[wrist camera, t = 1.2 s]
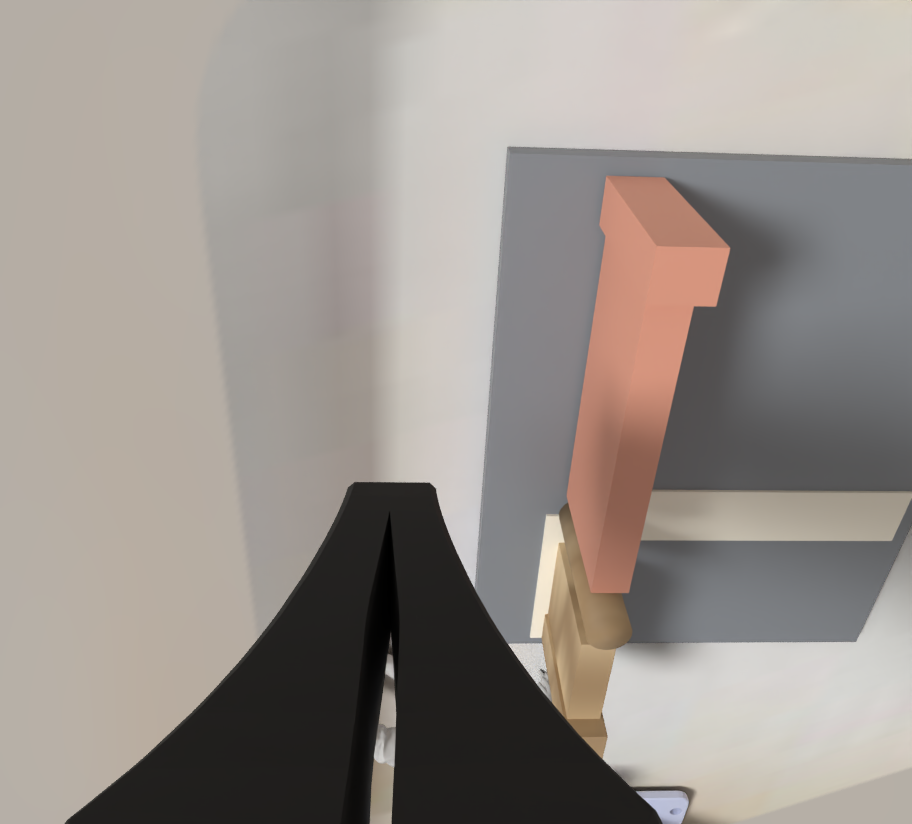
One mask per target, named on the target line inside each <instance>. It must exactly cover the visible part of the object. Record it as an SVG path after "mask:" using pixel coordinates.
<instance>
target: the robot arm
mask: <svg viewBox="0 0 912 824" xmlns="http://www.w3.org/2000/svg"><path fill="white" fill-rule="evenodd" d="M390 633H391V638H392V653H393V668H394V683H395V699H396V737H395V761H394V783H393V805H392V824H682V821H683V819H684V816H685V813H686V810H687V808H688V805H689V800H688V797H687V794H686V793H685V792H682V791H634V790H633V789H632V788H631V787H630V786H629V785H628V784H627V783H626V782H625V781H624V780H623V779H622V778H621V777H620V776H619V775H618V774H617V773H616V772H615V771H614V770H613V769H612V768H611V767H610V766H609V765H608V764H607V763H606V762H605V761H604V760H603V759H602V758H601V757H600V756H599V755H598V754H597V753H596V752H595V751H594V750H593V749H592V748H591V747H590V746H589V744H588V743H587V742H586V741H585V740H584V739H583V738H582V737H581V736H580V735H579V734H578V733H577V732H576V731H575V729H574V728H573V727H572V726H571V725H570V723H569V722H568V721H567V720H566V719H565V717H564V716H563V715H562V714H561V713H560V712H559V710H558V709H557V708H556V707H555V706H554V704H553V703H552V702H551V701H550V700H549V699H548V697H547V696H546V695H545V694H544V693H543V691H542V690H541V689H540V688H539V687H538V685H537V684H536V683H535V681H534V680H533V679H532V677H531V676H530V675H529V673H528V672H527V670H526V669H525V668H524V666H523V665H522V664H521V662H520V661H519V660H518V658H517V657H516V655H515V654H514V652H513V651H512V649H511V648H510V647H509V645H508V644H507V642H506V641H505V639H504V638H503V636H502V635H501V633H500V631H499V630H498V628H497V627H496V625H495V623H494V622H493V620H492V619H491V617H490V615H489V613H488V612H487V610H486V608H485V606H484V605H483V603H482V601H481V599H480V598H479V596H478V594H477V592H476V590H475V589H474V587H473V585H472V583H471V581H470V579H469V577H468V575H467V573H466V571H465V569H464V567H463V564H462V562H461V560H460V558H459V556H458V554H457V552H456V550H455V547H454V545H453V543H452V540H451V538H450V535H449V533H448V530H447V527H446V525H445V522H444V519H443V516H442V513H441V510H440V506H439V503H438V498H437V493H436V488H435V487H434V486H432V485H431V484H430V483H395V482H354V483H353V484H352V485H351V486H350V487H348V489H347V492H346V495H345V498H344V500H343V503H342V505H341V507H340V510H339V512H338V514H337V516H336V518H335V520H334V522H333V524H332V526H331V528H330V530H329V532H328V534H327V536H326V538H325V540H324V541H323V543H322V545H321V547H320V548H319V550H318V552H317V553H316V555H315V557H314V559H313V560H312V562H311V564H310V565H309V567H308V569H307V570H306V572H305V574H304V575H303V577H302V578H301V580H300V581H299V583H298V584H297V586H296V587H295V589H294V590H293V592H292V593H291V595H290V596H289V597H288V599H287V600H286V602H285V603H284V605H283V606H282V608H281V609H280V611H279V612H278V613H277V615H276V616H275V618H274V619H273V620H272V622H271V623H270V624H269V626H268V627H267V628H266V629H265V631H264V632H263V633H262V635H261V636H260V637H259V638H258V640H257V641H256V642H255V643H254V645H253V646H252V647H251V648H250V649H249V651H248V652H247V653H246V654H245V656H244V657H243V658H242V659H241V660H240V661H239V663H238V664H237V665H236V666H235V667H234V668H233V669H232V670H231V671H230V673H229V674H228V675H227V676H226V677H225V678H224V679H223V680H222V681H221V683H220V684H219V685H218V686H217V687H216V688H215V689H214V690H213V691H212V692H211V693H210V695H209V696H208V697H207V698H206V699H205V700H204V701H203V702H202V703H201V704H200V705H199V706H198V707H197V708H196V709H195V710H194V711H193V712H192V713H191V714H190V715H189V716H188V717H187V718H186V719H185V720H183V721H182V722H181V723H180V724H179V725H178V726H177V727H176V728H175V729H174V730H173V731H172V732H171V733H170V734H169V735H167V737H165V738H164V739H163V740H162V741H161V742H160V743H159V744H158V745H157V746H156V747H155V748H154V749H153V750H151V752H149V753H148V754H147V755H146V756H145V757H144V758H143V759H142V760H140V761H139V762H138V763H137V764H136V765H135V766H133V767H132V768H131V769H130V770H129V771H127V772H126V773H125V774H124V775H123V776H121V777H120V778H119V779H118V780H116V781H115V782H114V783H113V784H111V785H110V786H109V787H108V788H107V789H105V790H104V791H103V792H102V793H100V794H99V795H98V796H97V797H95V798H94V799H93V800H92V801H91V802H89V803H88V804H87V805H86V806H84V807H83V808H82V809H81V810H79V811H78V812H77V813H76V814H74V815H73V816H72V817H70V818H69V819H68V820H67V821H66V823H65V824H370V802H371V782H372V772H373V761H374V752H375V745H376V737H377V730H378V723H379V715H380V708H381V701H382V693H383V686H384V678H385V671H386V664H387V656H388V649H389V641H390Z"/></svg>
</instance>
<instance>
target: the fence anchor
mask: <svg viewBox="0 0 912 824" xmlns="http://www.w3.org/2000/svg"><path fill="white" fill-rule="evenodd" d="M559 520H560V524H561V529H562V533H563V537H564V542H565V543H558V550H557V557H556V563H555V570H554V577H553V583H552V590H551V597H550V603H549V610H548V614H545V618H544V624H543V631H542V644H543V650H544V656H545V662H546V668H547V674H548V680H549V685H550V691H551V697H552V703H553V704H554V706H555V707H556V708H557V709H558V710H559V712H560V713H561V714H562V715H563V716H564V717H565V719H566V720H567V721H568V722H569V723H570V725H571V726H572V727H573V728H574V729H575V731H576V732H577V733H578V734H579V735H580V736H581V737H582V738H583V739H584V740H585V741H586V742H587V743H588V744H589V746H590V747H591V748H592V749H593V750H594V751H595V752H596V753H597V754H598V755H599V756H600V757H601V758H603V753H604V749H605V745H606V741H607V732H606V728H605V724H604V719H603V715H602V708H603V704H604V699H605V695H606V691H607V686H608V682H609V677H610V673H611V669H612V664H613V660H614V655H615V651H616V648H619V647H621V646H623V645H624V644H626V643H627V642H628V641H629V640H630V638H631V636H632V627H631V624H630V621H629V617H628V614H627V610H626V607H625V604H624V600H623V597H622V594H621V593H591V591H590V587H589V583H588V579H587V575H586V571H585V567H584V563H583V559H582V556H581V552H580V548H579V544H578V540H577V536H576V532H575V528H574V524H573V520H572V516H571V512H570V508H569V504H568V503H566V504H565V505H564V506H563V507H562V508H561V510H560V512H559Z"/></svg>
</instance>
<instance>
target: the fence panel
mask: <svg viewBox="0 0 912 824" xmlns="http://www.w3.org/2000/svg"><path fill="white" fill-rule="evenodd" d="M599 226H600V227H601V229H602V231H603V233H604V234H605V236H606V237H605V243H604V250H603V257H602V263H601V270H600V277H599V283H598V290H597V296H596V303H595V310H594V316H593V323H592V330H591V336H590V343H589V350H588V356H587V363H586V369H585V376H584V383H583V389H582V396H581V403H580V409H579V416H578V423H577V429H576V436H575V442H574V449H573V456H572V462H571V469H570V476H569V482H568V489H567V500H568V504H569V508H570V512H571V516H572V520H573V524H574V528H575V532H576V536H577V540H578V544H579V548H580V552H581V556H582V559H583V563H584V567H585V571H586V575H587V579H588V583H589V587H590V591H591V593H629V590H630V585H631V581H632V576H633V572H634V568H635V563H636V559H637V554H638V550H639V546H640V541H641V537H642V532H643V528H644V524H645V519H646V515H647V510H648V506H649V502H650V497H651V493H652V488H653V484H654V480H655V475H656V471H657V466H658V462H659V458H660V453H661V449H662V444H663V440H664V436H665V431H666V427H667V422H668V418H669V414H670V409H671V405H672V400H673V396H674V392H675V387H676V383H677V378H678V374H679V370H680V365H681V361H682V356H683V352H684V348H685V343H686V339H687V334H688V330H689V326H690V321H691V317H692V312H693V308H694V306H708V307H716V305H717V301H718V297H719V293H720V289H721V285H722V281H723V276H724V272H725V268H726V264H727V260H728V256H729V252H730V247H729V246H728V245H727V244H726V243H725V242H724V241H723V239H722V238H721V237H720V236H719V235H718V234H717V233H716V232H715V231H714V230H713V229H712V228H711V227H710V226H709V224H708V223H707V222H706V221H705V220H704V219H703V218H702V217H701V216H700V215H699V214H698V213H697V212H696V211H695V209H694V208H693V207H692V206H691V205H690V204H689V203H688V202H687V201H686V200H685V199H684V198H683V197H682V196H681V194H680V193H679V192H678V191H677V190H676V189H675V188H674V187H673V186H672V185H671V184H670V183H669V182H668V181H667V179H666V178H665V177H633V176H606V181H605V188H604V195H603V202H602V209H601V216H600V223H599Z"/></svg>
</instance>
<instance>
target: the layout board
mask: <svg viewBox="0 0 912 824" xmlns="http://www.w3.org/2000/svg"><path fill="white" fill-rule="evenodd" d="M606 176H633V177H665V178H666V179H667V181H668V182H669V183H670V184H671V185H672V186H673V187H674V188H675V189H676V190H677V191H678V192H679V193H680V194H681V196H682V197H683V198H684V199H685V200H686V201H687V202H688V203H689V204H690V205H691V206H692V207H693V208H694V209H695V211H696V212H697V213H698V214H699V215H700V216H701V217H702V218H703V219H704V220H705V221H706V222H707V223H708V224H709V226H710V227H711V228H712V229H713V230H714V231H715V232H716V233H717V234H718V235H719V236H720V237H721V238H722V239H723V241H724V242H725V243H726V244H727V245H728V246H729V247H730V252H729V256H728V260H727V264H726V268H725V272H724V276H723V281H722V285H721V289H720V293H719V297H718V301H717V305H716V307H708V306H694V308H693V312H692V317H691V321H690V326H689V330H688V334H687V339H686V343H685V348H684V352H683V356H682V361H681V365H680V370H679V374H678V378H677V383H676V387H675V392H674V396H673V400H672V405H671V409H670V414H669V418H668V422H667V427H666V431H665V436H664V440H663V444H662V449H661V453H660V458H659V462H658V466H657V471H656V475H655V480H654V484H653V488H652V493H651V497H650V502H649V506H648V510H647V515H646V519H645V524H644V528H643V532H642V537H641V541H640V546H639V550H638V554H637V559H636V563H635V568H634V572H633V576H632V581H631V585H630V590H629V593H621V594H622V597H623V600H624V604H625V607H626V610H627V614H628V617H629V621H630V624H631V627H632V636H631V638H630V640H629V641H628V642H627V643H700V642H856V641H857V638H858V636H859V634H860V632H861V630H862V628H863V626H864V624H865V622H866V620H867V617H868V615H869V613H870V611H871V609H872V607H873V605H874V603H875V601H876V599H877V596H878V594H879V592H880V590H881V588H882V586H883V584H884V582H885V580H886V578H887V576H888V573H889V571H890V569H891V567H892V565H893V563H894V561H895V559H896V557H897V555H898V552H899V550H900V548H901V546H902V544H903V542H904V540H905V538H906V536H907V534H908V532H909V529H910V527H911V525H912V159H890V158H857V157H825V156H792V155H759V154H726V153H694V152H661V151H628V150H596V149H563V148H530V147H507V161H506V174H505V188H504V201H503V215H502V229H501V242H500V256H499V269H498V283H497V296H496V310H495V324H494V337H493V351H492V364H491V378H490V391H489V405H488V418H487V432H486V446H485V459H484V473H483V486H482V500H481V513H480V527H479V540H478V554H477V568H476V581H475V590H476V592H477V594H478V596H479V598H480V599H481V601H482V603H483V605H484V606H485V608H486V610H487V612H488V613H489V615H490V617H491V619H492V620H493V622H494V623H495V625H496V627H497V628H498V630H499V631H500V633H501V635H502V636H503V638H504V639H505V641H506V642H507V643H542V631H543V624H544V618H545V614H548V610H549V603H550V597H551V590H552V583H553V577H554V570H555V563H556V557H557V550H558V543H565V542H564V537H563V533H562V529H561V524H560V520H559V512H560V510H561V508H562V507H563V506H564V505H565V504H566V503H568V500H567V489H568V482H569V476H570V469H571V462H572V456H573V449H574V442H575V436H576V429H577V423H578V416H579V409H580V403H581V396H582V389H583V383H584V376H585V369H586V363H587V356H588V350H589V343H590V336H591V330H592V323H593V316H594V310H595V303H596V296H597V290H598V283H599V277H600V270H601V263H602V257H603V250H604V243H605V237H606V236H605V234H604V233H603V231H602V229H601V227H600V226H599V223H600V216H601V209H602V202H603V195H604V188H605V181H606Z"/></svg>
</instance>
